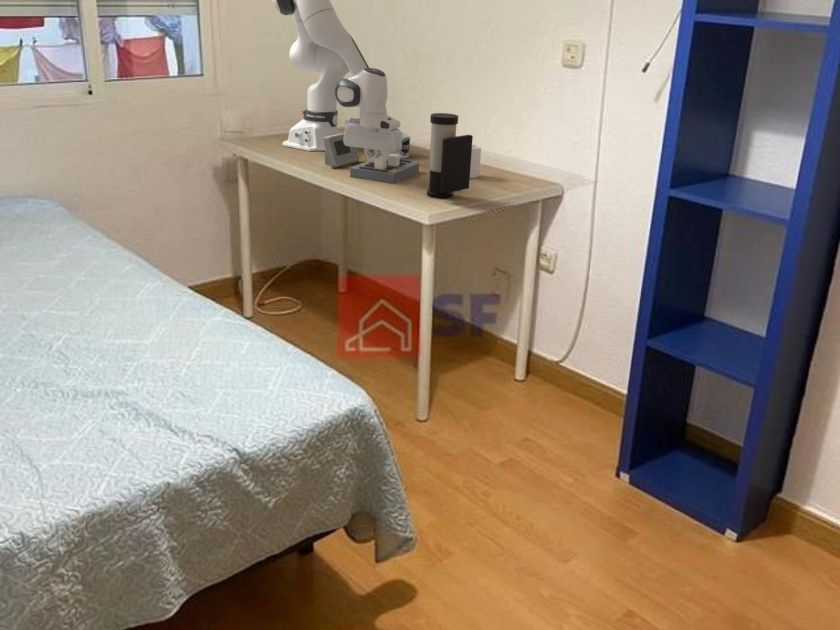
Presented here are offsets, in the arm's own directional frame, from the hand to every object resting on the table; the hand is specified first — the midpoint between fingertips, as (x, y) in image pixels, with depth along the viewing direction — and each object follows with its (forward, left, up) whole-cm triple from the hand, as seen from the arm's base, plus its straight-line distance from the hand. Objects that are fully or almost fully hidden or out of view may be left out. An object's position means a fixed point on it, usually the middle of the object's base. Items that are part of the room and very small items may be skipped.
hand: (371, 162), depth 271 cm
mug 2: (+25, +22, -5) cm, 33 cm away
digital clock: (-18, +12, -5) cm, 23 cm away
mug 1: (-8, +36, -5) cm, 37 cm away
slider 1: (+3, 0, -2) cm, 3 cm away
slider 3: (+5, +7, -2) cm, 9 cm away
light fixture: (+30, -9, -5) cm, 31 cm away
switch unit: (+2, +7, -5) cm, 9 cm away
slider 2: (-1, +14, -2) cm, 14 cm away
